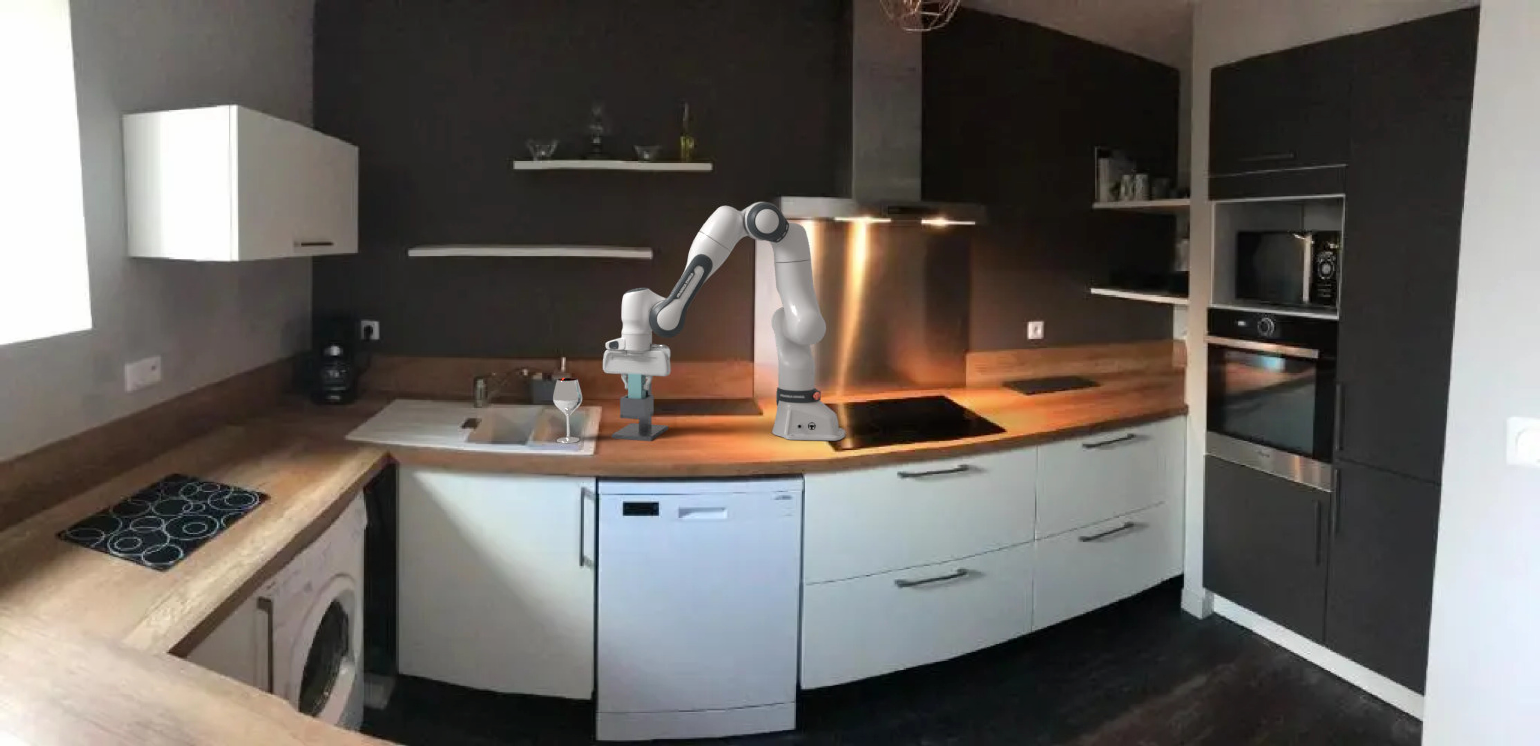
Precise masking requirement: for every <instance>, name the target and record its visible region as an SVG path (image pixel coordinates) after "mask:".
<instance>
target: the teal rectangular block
mask: <svg viewBox="0 0 1540 746" xmlns="http://www.w3.org/2000/svg"><path fill="white" fill-rule="evenodd" d="M627 379H628V389H627V395H628V398H636V399H644V398H646V390H642V388H643V387H642V384H645V383H646V382H647V379H646V375H641V374H628V377H627Z"/></svg>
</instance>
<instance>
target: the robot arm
mask: <svg viewBox="0 0 1540 746" xmlns="http://www.w3.org/2000/svg"><path fill="white" fill-rule="evenodd" d="M744 237H747V238H750V239H753V240H756V241H765V242H766V241H767V242H768V243H769V244H770V245H771V248H772V251H773V261H774V264H773V265H774V273H775V275H774V276H775V286H776V287H775V288H776V291H777V292H778V294H779V298H780V301H781V304H782V306H781V307H780V308H778V309H776V311H774V312H773V314H772V316H771V322H770V323H771V327H772V329H773V333H774V339H775V347H776V353H777V358H778V379H777V380H778V387H776V391H775V392H776V393H775V394H776V395H775V402H776V414H775V419H774V424H773V427H772V430H771V433H772V434H773V435H775V436H777V437H778V436H779V437H782V438H784V439H785V440H790V441H791V440H792V441H830V442H831V441H833V442H834V441H840V440H842V439H844V438H845V436H846V430H845V429H844V428H841V427H839V425H840V424H839V420H838V415H837V413H836V412H834V411H833V410H832V408H830V407H828V405H826V404H825V403H824V402H822V401H821V397H822V394H821V392H822V390H821V389H819V390H818V389H817V388H816V387H815V381H816V380H815V378H816V377H815V376H816V373H815V372H816V370H815V369H816V364H815V362H816V361H815V359H814V357H813V354H812V348H811V345H815V344H817V343H819V342H820V341H822V340H823V338H824V337H825V334H826V331H827V324H826V321H825V319H824V318H823V315H822V313H821V309H820V306H819V302H818V298H817V294H816V291H815V285H814V278H813V266H812V265H813V264H812V256H811V255H812V254H811V247H810V243H809V237H808V233H807V231H806V229H805V228H804V226H803V225H802V224H800V223H796V222H789V221H788V220H787V218H786V217H785V215H784V214H783V212H782V211H781V209H780V208H779V207H778V206H777V205H775V204H774V203H771V202H766V201H758V202H754V203H752V204H750V205H748V206H747V207H744V208H743V209H741V210H737V208H734V207H733V206H729V205H721V206H720V207H718V208H716V210H715V211H713V213H712V214H711V215H710V216H709V217H708V219H707V220H706V221H705V223H703V225H702V226H701V228H700V229H699V231H698V232H697V234H696V236H695V238H694V239H693V241H692V244H691V245H690V249H689V252H688V256H687V262H686V265H685V268H684V271H683V273H682V275H681V277H680V278H679V279H678V281H677V283H676V284H675V286H674V287H673V289H672V291H670V294H669V295H668V296H667V297H663V296H661V295H659V294H657V293H655V292H653V291H652V290H651V289H650V288H648V287H639V288H633V289H629V290H628V291H626V292H625V293H624V294H623V296H622V301H621V322H622V329H621V337H617V338H615V339H611V340H609V341H607V342H605V348H606V350H605V351H604V353H603V357H602V358H603V359H602V370H603V372H604V373H605V374H615V375H620V376H621V380H622V381H623V383H624V389H625V390H628V374H641V375H646V383H645V384H642V387H643V388H642V390H649V384H650V382H651V383H652V381H653V378H654V376H655V377H667V376H670V374H671V373H672V372H671V371H672V369H671V368H672V365H671V356H672V354H671V349H670V347H669V346H667V344H663V343H662V344H658V343H657V344H656V343H653V333H654V334H655V335H656V336H658V337H660V338H664V339H665V338H666V339H670V338H673V337H676V336H678V335H679V334H680V333H681V332H682V330H683V329H684V327H685V324H686V316H687V311H688V309H689V307H690V306H691V304H692V302H693V300H694V299H695V297H696V296H697V294H698V293H699V291H700V290H701V288H702V287H703V285H704V283H706V282H707V280H708V279H709V278H710V277H711V276H712V275H713V274H714V273H716V271H717V270H718V269H719V268H720V267H721V266H722V265H723V264H724V262H726V260H727V259H728V257H729V256H730V255H731V252H732V251H733V250H734V248H735V246H736V245H737V243H739V241H740V240H741V239H742V238H744Z"/></svg>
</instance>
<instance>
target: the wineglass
mask: <svg viewBox="0 0 1540 746" xmlns="http://www.w3.org/2000/svg"><path fill="white" fill-rule="evenodd" d="M552 400H553V404H554V405H555V406H556V408H557V409H559V411H561V413H563V414H564V415H565V416H566V436H565V437H560V438H557V440H556V441H557V442H558V443H562V444H573V443H577V442H580V438H579V437H576V436H575V437H574V436H571V431H570V425H571V424H570V423H571V422H570V421H571V420H570V419H571V418H570V417H571V415H572V414H573V413H574V411H576V410H577V409H578V408H579V407H580V405H581V404H582V402H583V394H582V390H581V387H580V383H579V379H578V378H575V377H562V378H557V379H556V382H555V386H554V390H553V397H552Z"/></svg>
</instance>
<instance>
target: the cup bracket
mask: <svg viewBox="0 0 1540 746" xmlns="http://www.w3.org/2000/svg"><path fill="white" fill-rule="evenodd" d="M619 401H620V402H619V405H620V406H619V408H620V409H619V410H620V411H619V412H620V413H619V414H620V416H619V417H620V418H619V419H626V420H627V419H630V420H631V419H632V420H638V423H635V422H634V423H633V422H631V423H629V424H627V425H626V426H624V427H622V428H621V429H619V430H617V431H615V432H614V433H612V434H611V439H613V440H614V439H617V440H628V441H629V440H630V441H631V440H632V441H645V442H651V441H653V440H654V439H656V438H658V437H659V436H661V435H662V434H663V433H665V432H667V431H668V430H669V425H665V424H664V425H662V424H652V419H653V418H652V416H654V410H655V409H654V405H655V404H654V394H652V381H651V382H650V384H649V390H646V398H644V399H636V398H628V394H626V395H624V396H622V397H619Z"/></svg>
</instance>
